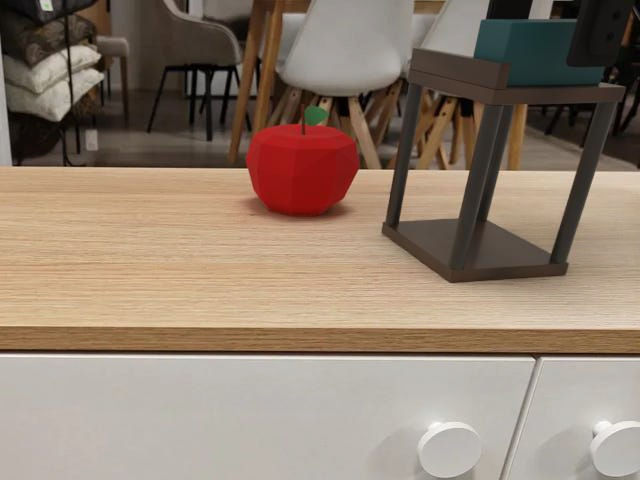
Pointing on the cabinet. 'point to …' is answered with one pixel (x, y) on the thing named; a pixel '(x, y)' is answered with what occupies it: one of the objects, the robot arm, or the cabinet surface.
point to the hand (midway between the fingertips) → (540, 58)
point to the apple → (302, 165)
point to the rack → (489, 171)
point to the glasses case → (534, 51)
